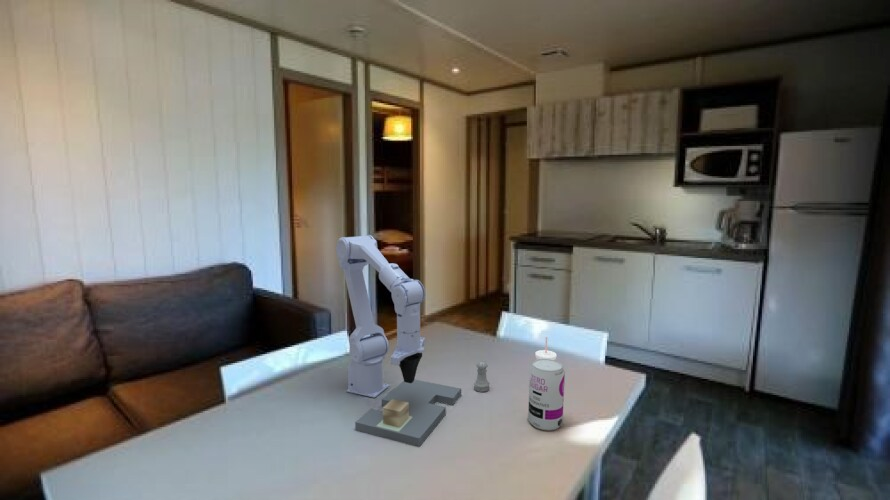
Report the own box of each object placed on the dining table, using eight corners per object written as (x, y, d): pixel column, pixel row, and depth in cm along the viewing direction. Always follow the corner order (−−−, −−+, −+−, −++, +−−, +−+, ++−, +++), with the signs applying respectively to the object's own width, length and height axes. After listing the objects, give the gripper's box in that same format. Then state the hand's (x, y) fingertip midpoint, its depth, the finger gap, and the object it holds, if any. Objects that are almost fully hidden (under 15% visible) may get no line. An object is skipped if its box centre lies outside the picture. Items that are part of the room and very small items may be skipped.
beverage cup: (532, 385, 126) (533, 339, 124) (536, 376, 131) (537, 332, 129) (553, 389, 124) (555, 342, 122) (556, 380, 129) (558, 335, 127)
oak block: (383, 423, 102) (382, 407, 101) (392, 414, 106) (392, 399, 105) (399, 427, 100) (399, 411, 99) (409, 418, 104) (408, 402, 103)
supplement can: (563, 417, 108) (565, 360, 106) (561, 434, 101) (563, 373, 99) (530, 411, 111) (532, 356, 109) (526, 428, 103) (527, 369, 101)
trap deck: (355, 429, 103) (355, 422, 102) (406, 384, 126) (406, 377, 126) (419, 446, 96) (419, 438, 96) (461, 395, 120) (461, 388, 119)
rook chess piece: (488, 393, 121) (489, 366, 120) (472, 391, 122) (473, 364, 121) (490, 386, 125) (490, 359, 124) (474, 384, 126) (475, 358, 125)
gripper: (409, 341, 98) (409, 397, 100) (435, 323, 112) (435, 372, 114) (382, 337, 101) (383, 391, 103) (411, 319, 114) (411, 368, 116)
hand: (409, 381), depth 109 cm, fingers closed
